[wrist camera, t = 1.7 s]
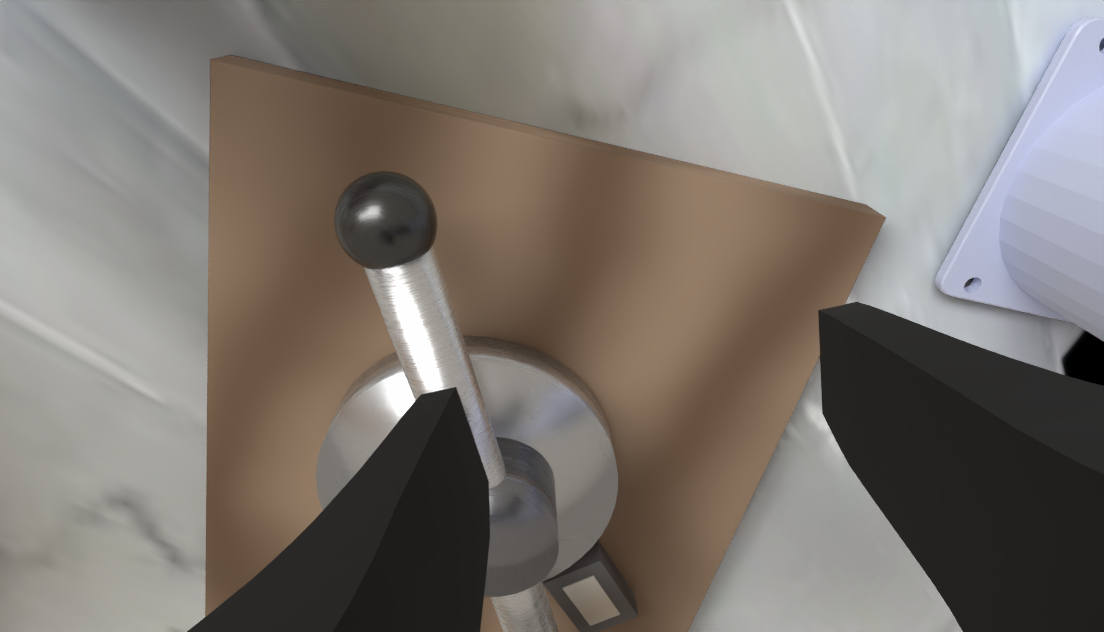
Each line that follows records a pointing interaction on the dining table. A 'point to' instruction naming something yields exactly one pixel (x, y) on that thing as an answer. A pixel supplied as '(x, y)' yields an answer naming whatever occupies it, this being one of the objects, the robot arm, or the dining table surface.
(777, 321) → the stand
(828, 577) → the dining table surface
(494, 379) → the ball knob lever
